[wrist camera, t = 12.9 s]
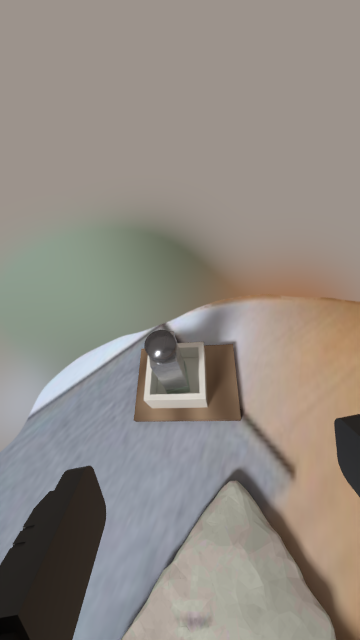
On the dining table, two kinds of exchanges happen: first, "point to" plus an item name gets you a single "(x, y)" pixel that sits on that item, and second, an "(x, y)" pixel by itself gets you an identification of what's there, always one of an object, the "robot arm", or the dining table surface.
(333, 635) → the stone
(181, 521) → the dining table surface
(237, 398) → the board
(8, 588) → the robot arm
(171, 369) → the capped metal post
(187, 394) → the holder
